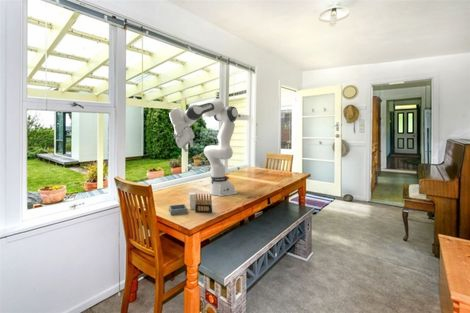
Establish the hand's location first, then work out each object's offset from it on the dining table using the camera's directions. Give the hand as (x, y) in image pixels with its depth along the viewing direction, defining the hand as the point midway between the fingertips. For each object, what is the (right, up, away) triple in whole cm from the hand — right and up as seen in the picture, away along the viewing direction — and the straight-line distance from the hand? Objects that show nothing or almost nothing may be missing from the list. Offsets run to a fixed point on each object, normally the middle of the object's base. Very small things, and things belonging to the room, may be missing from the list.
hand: (189, 149), depth 168 cm
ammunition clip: (+11, -40, -11) cm, 43 cm away
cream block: (+3, -39, -3) cm, 39 cm away
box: (-5, -40, -10) cm, 41 cm away
